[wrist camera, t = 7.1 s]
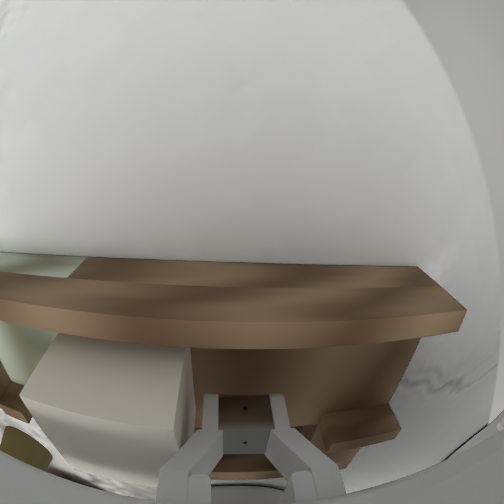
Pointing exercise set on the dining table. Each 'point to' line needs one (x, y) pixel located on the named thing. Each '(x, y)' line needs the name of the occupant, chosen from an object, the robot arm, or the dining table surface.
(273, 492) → the cylinder vase
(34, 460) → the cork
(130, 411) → the block
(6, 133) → the dining table surface
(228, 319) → the box
